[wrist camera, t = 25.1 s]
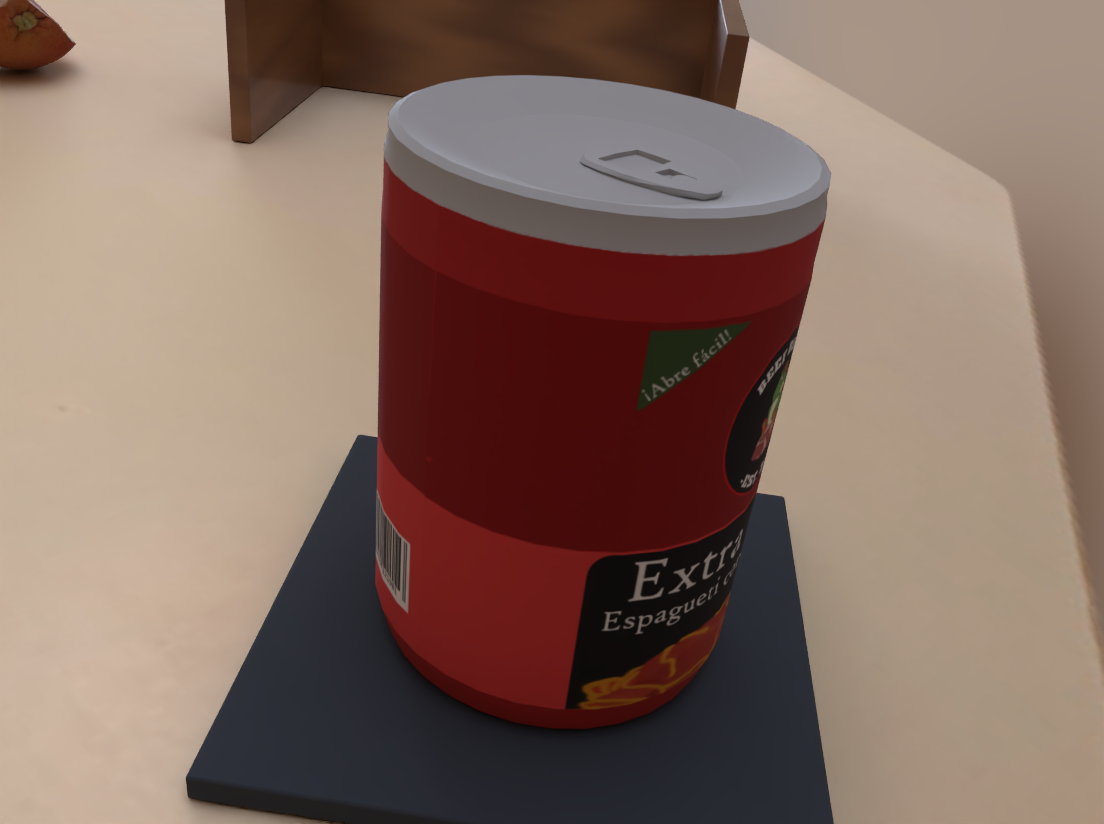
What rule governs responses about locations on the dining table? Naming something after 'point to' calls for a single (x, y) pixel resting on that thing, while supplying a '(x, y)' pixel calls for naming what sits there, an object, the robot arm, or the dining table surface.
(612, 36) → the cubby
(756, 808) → the mat
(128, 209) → the dining table surface
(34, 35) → the fruit slice
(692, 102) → the canned food
